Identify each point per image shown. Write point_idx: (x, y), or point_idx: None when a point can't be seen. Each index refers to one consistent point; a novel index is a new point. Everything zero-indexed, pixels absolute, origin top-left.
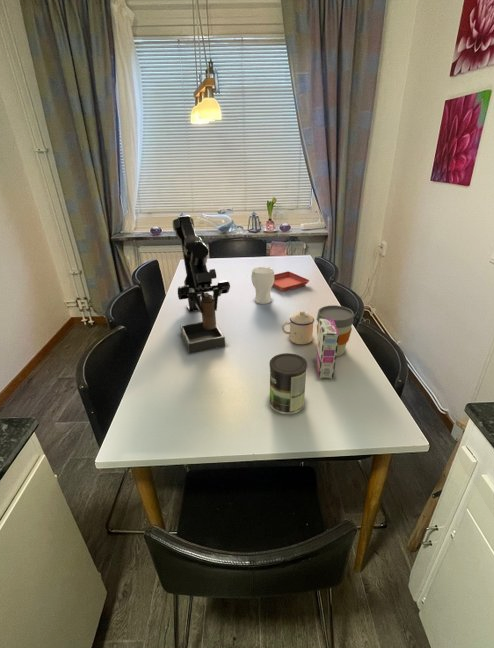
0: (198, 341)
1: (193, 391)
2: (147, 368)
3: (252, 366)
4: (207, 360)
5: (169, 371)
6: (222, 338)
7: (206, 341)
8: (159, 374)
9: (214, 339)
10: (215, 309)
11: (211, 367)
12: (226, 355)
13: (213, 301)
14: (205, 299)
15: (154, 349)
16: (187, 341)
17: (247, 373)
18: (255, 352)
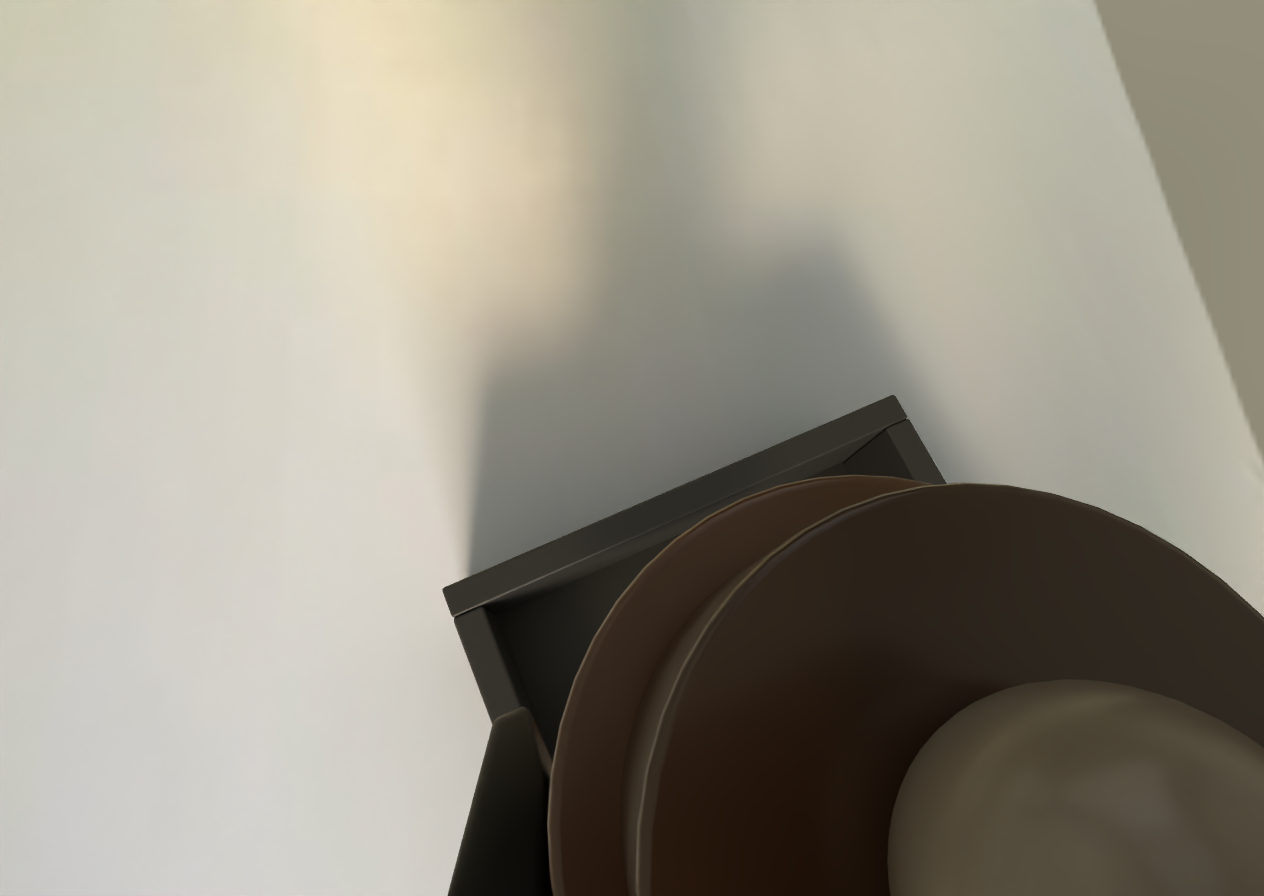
0: (784, 456)
1: None
2: (1127, 202)
3: (170, 215)
4: (628, 314)
5: (924, 159)
6: (476, 576)
7: (684, 488)
8: (988, 125)
9: (583, 529)
10: (535, 726)
11: (570, 206)
12: (439, 403)
13: (568, 718)
14: (976, 498)
15: (1244, 515)
16: (925, 454)
17: (231, 119)
18: (97, 466)
